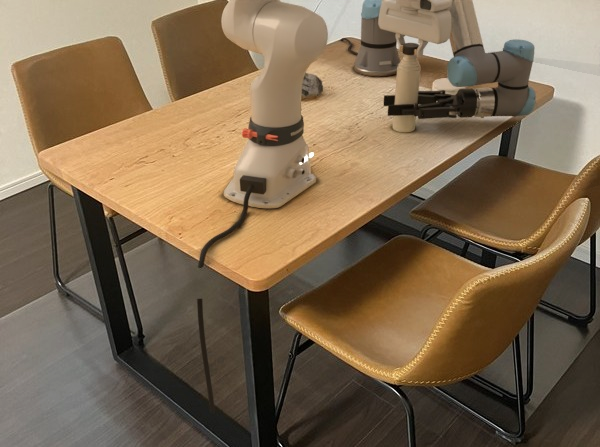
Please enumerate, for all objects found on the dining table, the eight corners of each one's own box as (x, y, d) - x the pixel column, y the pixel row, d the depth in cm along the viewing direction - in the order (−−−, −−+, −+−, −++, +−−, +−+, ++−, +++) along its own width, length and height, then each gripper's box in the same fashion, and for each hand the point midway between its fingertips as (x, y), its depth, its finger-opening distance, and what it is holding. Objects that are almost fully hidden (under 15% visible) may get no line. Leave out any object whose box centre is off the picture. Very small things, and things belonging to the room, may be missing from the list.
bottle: (396, 121, 169) (403, 42, 157) (417, 125, 167) (426, 45, 155) (389, 130, 165) (395, 48, 153) (410, 134, 162) (418, 51, 151)
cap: (404, 55, 153) (404, 47, 152) (400, 50, 156) (401, 42, 155) (420, 55, 153) (420, 47, 152) (416, 50, 157) (417, 42, 155)
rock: (327, 94, 187) (327, 70, 183) (303, 102, 181) (302, 79, 177) (294, 83, 196) (293, 61, 192) (270, 91, 190) (268, 68, 186)
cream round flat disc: (427, 89, 189) (428, 78, 188) (459, 87, 190) (460, 76, 188) (437, 101, 181) (438, 89, 179) (470, 99, 182) (471, 88, 180)
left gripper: (374, -9, 152) (371, 47, 160) (440, 5, 139) (434, 66, 147) (391, -13, 156) (388, 42, 163) (458, 1, 143) (451, 60, 150)
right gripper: (482, 130, 157) (391, 133, 156) (462, 102, 173) (379, 105, 172) (486, 102, 153) (393, 105, 152) (465, 76, 169) (381, 79, 168)
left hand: (410, 53), depth 155 cm, fingers closed on cap, 4 cm apart
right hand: (386, 105), depth 162 cm, fingers closed on bottle, 6 cm apart
